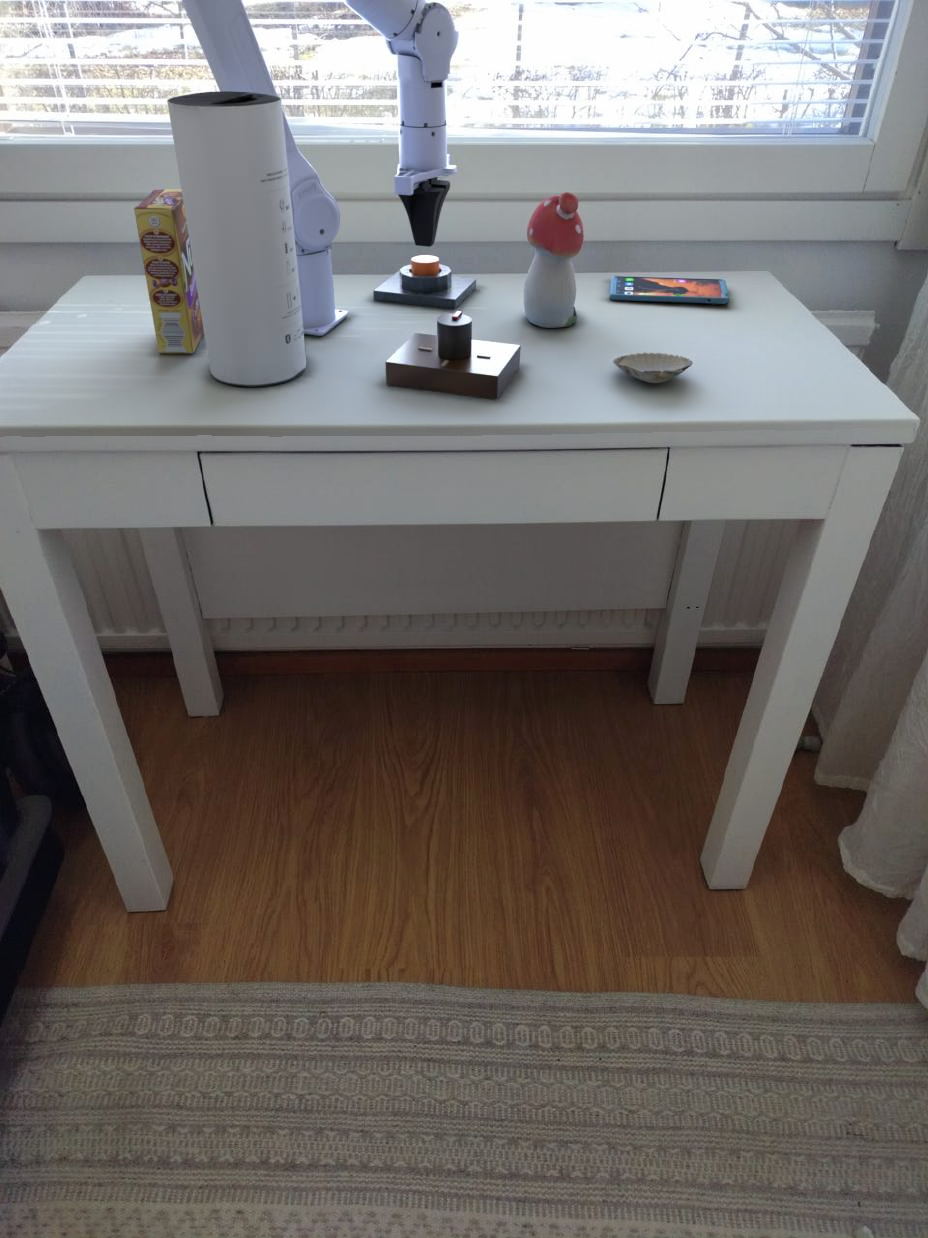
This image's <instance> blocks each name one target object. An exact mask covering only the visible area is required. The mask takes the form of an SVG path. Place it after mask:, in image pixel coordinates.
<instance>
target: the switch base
mask: <svg viewBox="0 0 928 1238" xmlns="http://www.w3.org/2000/svg"><path fill="white" fill-rule="evenodd" d="M452 272H453V271H452V269H451V268H450V266H447V265H444V264H441V263H439V273H438V274H434V275H416V274H413V273H411V264H407V265H403V266H402V267H401V268H400V269H399V270H397V271H396V272H394V274H393V275H391V276H390V277H388V278H387V279H386V280H385V281H384V282H382V283H381V284H380V285H379V286H377V287H376V288H375V289H374V290H372V291H373V300H374V301H381V302H389V303H400V304H407V305H417V306H426V307H434V308H443V309H454V310H455V309H457V308H458V307H459V306H460V305H461V304H462V303H463V302H464V301H465V300H466V299H467V297H468V296H469V295H471V294H472V293H473V292H474V291H475V290H476V288H477V278H473V277H464V276H463V277H462V276H454V275H452Z"/></svg>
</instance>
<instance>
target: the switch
mask: <svg viewBox="0 0 928 1238" xmlns="http://www.w3.org/2000/svg"><path fill="white" fill-rule="evenodd" d="M439 264H440V258H439V257H438V256H435V255H431V254H420V255H415V256H413V257H411V259H410V265H411V273H413V274H416V275H434V274H438V273H439Z"/></svg>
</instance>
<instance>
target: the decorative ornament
mask: <svg viewBox="0 0 928 1238" xmlns="http://www.w3.org/2000/svg"><path fill="white" fill-rule="evenodd" d="M578 209H579V200H578V198H577V196H576V195H575V194H573V193H571V192H563V193H562V194H560V195H552V196H549V197H547V198H546V199H544V200H543V201H541V202H540V203H539V204H538V205H537V206H536V208H535V209H534V211H533V212H532V214H531V216H530V219H529V221H528V224H527V229H526V238H527V239H526V240H527V241H528V243H529V245H530V246H531V247H534V248H535V254H534V257H533V260H532V261H531V264H530V266H529V269H528V271H527V274H526V277H525V280H524V285H523V308H524V315H525V317H526V319H527V320H528V322H529V323H530V324H532V325H535V326H538V327H540V328H549V329H554V328H568V327H571V326H572V325H573V324H575V322H576V321H577V320H578V314H577V311H576V307H575V302H576V298H577V297H576V295H577V283H576V281H577V280H576V273H575V268H574V266H573V262H572V259H571V258H574V257H575V256H577V255H578V254H579V253H580V251H581V249H582V247H583V244H584V239H585V238H584V237H585V236H584V224H583V222H582V219H581V215H580V214H579V212H578Z"/></svg>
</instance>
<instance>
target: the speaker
mask: <svg viewBox="0 0 928 1238" xmlns="http://www.w3.org/2000/svg"><path fill="white" fill-rule="evenodd" d="M166 102H167V108H168V115H169V121H170V126H171V132H172V139H173V145H174V151H175V158H176V163H177V165H176V166H177V170H178V176H179V182H180V189H181V190H182V196H183V202H184V209H185V215H186V221H187V228H188V234H189V240H190V247H191V253H192V259H193V266H194V272H195V279H196V285H197V291H198V298H199V304H200V310H201V317H202V323H203V329H204V335H203V336H204V341H205V348H206V354H207V361H208V366H209V372H210V374H211V376H212V377H213V378H214V379H215V380H216V381H219V382H220V383H223V384H225V385H231V386H237V387H248V388H249V387H251V388H254V387H267V386H273V385H278V384H283V383H286V382H289V381H292V380H293V379H295V378H297V377H299V376H301V375H302V374H303V373H304V371H305V369H306V367H307V356H306V345H305V334H304V331H303V321H302V310H301V299H300V288H299V278H298V267H297V257H296V247H295V237H294V226H293V216H292V206H291V196H290V186H289V175H288V165H287V155H286V144H285V134H284V124H283V113H282V108H283V105H282V104H283V103H282V97H280V96H279V95H278V96H274V95H269V94H261V93H251V92H232V91H220V90H218V91H204V92H195V93H188V94H182V95H178V96H173V97H170V98H167V100H166Z"/></svg>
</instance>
